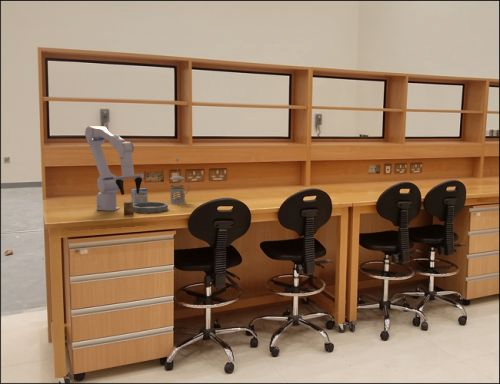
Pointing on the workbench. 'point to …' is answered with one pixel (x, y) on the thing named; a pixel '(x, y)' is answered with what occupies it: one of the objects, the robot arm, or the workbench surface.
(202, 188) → the workbench surface
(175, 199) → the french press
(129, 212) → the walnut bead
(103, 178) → the robot arm
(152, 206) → the round tray
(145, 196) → the medicine box
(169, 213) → the workbench surface
